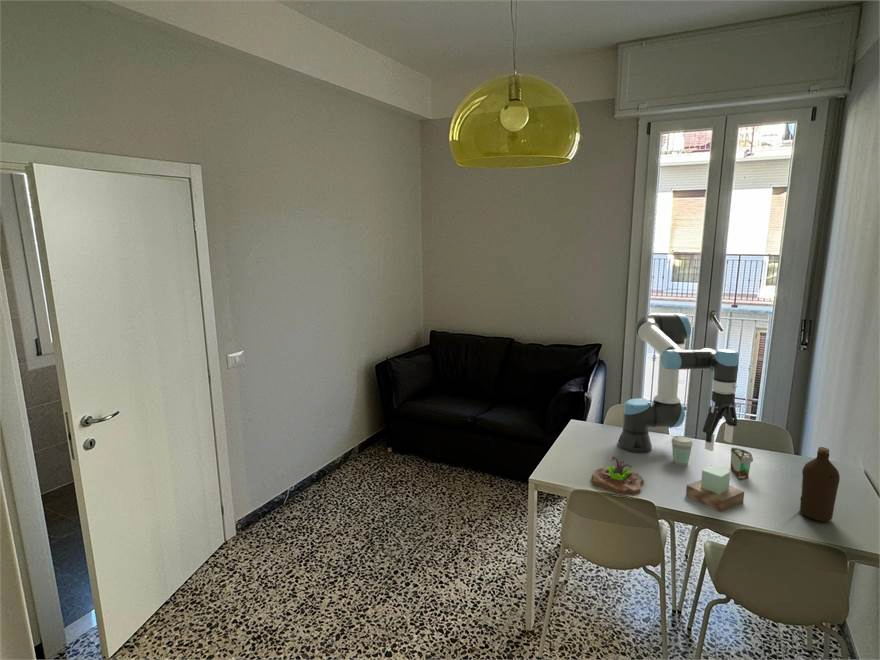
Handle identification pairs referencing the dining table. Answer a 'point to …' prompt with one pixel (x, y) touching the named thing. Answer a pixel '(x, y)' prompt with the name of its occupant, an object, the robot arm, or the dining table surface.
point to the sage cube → (715, 479)
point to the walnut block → (715, 497)
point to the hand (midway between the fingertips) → (718, 445)
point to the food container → (740, 463)
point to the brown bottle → (819, 487)
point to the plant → (618, 479)
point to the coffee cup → (681, 450)
